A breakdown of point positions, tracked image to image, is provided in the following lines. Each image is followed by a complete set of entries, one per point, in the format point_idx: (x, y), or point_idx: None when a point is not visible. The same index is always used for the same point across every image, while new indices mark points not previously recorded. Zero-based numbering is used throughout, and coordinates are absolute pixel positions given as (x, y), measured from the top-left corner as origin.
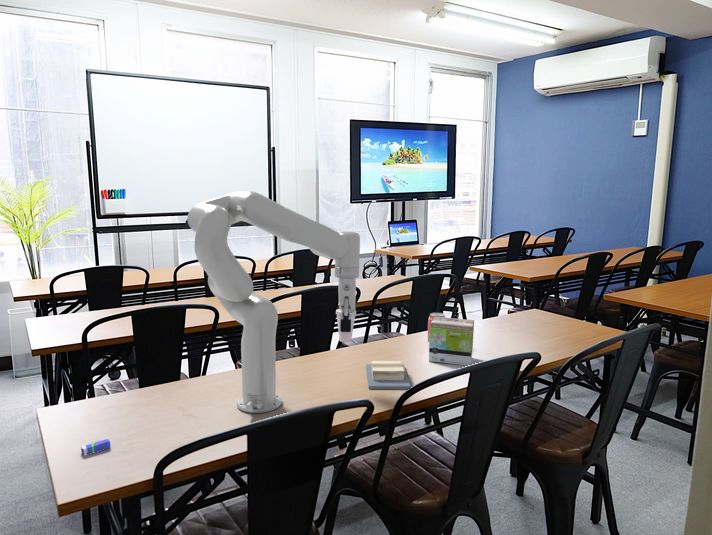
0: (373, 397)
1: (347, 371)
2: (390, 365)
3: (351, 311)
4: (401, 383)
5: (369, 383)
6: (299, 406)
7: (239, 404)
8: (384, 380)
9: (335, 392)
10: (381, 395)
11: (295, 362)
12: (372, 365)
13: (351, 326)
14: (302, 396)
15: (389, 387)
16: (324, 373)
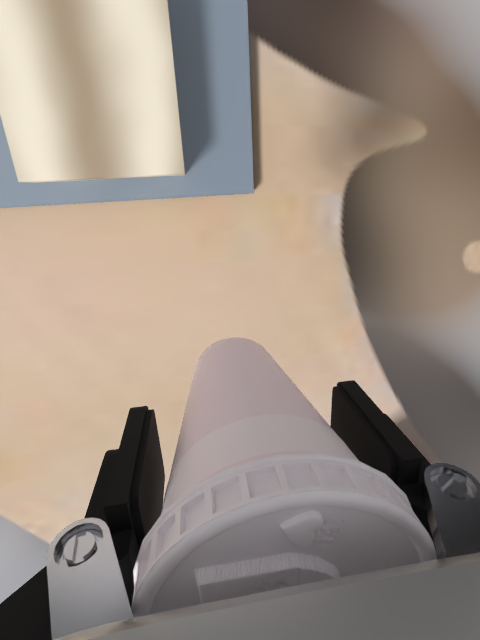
0: (331, 172)
1: (62, 291)
2: (75, 60)
3: (335, 544)
4: (213, 19)
5: (227, 190)
6: (383, 392)
7: None
8: (184, 115)
9: (286, 312)
10: (313, 137)
11: (12, 483)
12: (99, 175)
13: (302, 397)
14: (316, 399)
15: (249, 93)
16: (107, 372)
